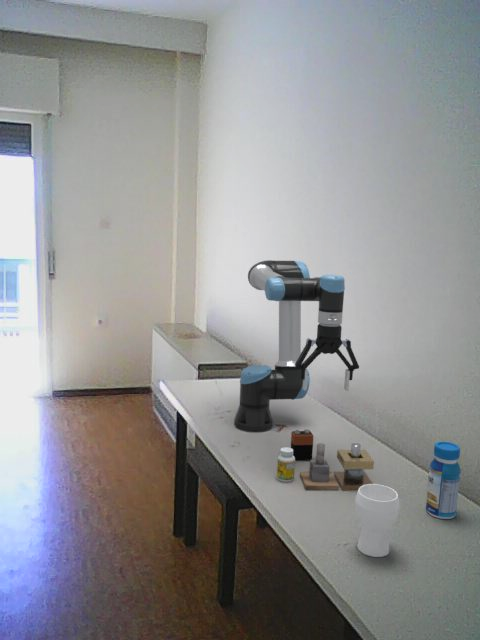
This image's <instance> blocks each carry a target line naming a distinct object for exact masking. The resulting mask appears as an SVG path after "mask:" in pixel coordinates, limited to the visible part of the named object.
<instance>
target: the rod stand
mask: <svg viewBox="0 0 480 640" xmlns="http://www.w3.org/2000/svg"><path fill="white" fill-rule="evenodd" d="M325 447H326V444H324V443H323V442H318V443H317V444H316V455H315V457H316V458H315V459H312V460H309V471H299V479H300V480H301V482H302V485H303V488H304V490H305V491H339V488H340V487H339V485H338V483H337V481H336V479H335V477H334V473H332V471H330V464H329V463H328V461H327V460H326V459H325V451H326V450H325Z"/></svg>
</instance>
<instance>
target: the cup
mask: <svg viewBox="0 0 480 640" xmlns="http://www.w3.org/2000/svg"><path fill="white" fill-rule="evenodd" d="M354 499H355V500H354V509H355V514H356V518H357V521H358V522H359V526H360V529H359V530H360V535H359V538H358V542H357V549H358V550H359V551H360V552H361V553H362V554H364V555H366V556H369V557H373V558H382V557H385V556H388V555H389V553H390V541H389V537H390V533H391V529H392V528H393V526H394V525H395V523H396V522H397V519H398V516H399V514H400V500H399V494H398V492H397V491H396V490H395V489H393V488H391V487H389V486H386V485H382V484H379V483H373V484H366V485H363V486H361V487H360V488H359V489H358V490H357V493H356V496H355V498H354Z"/></svg>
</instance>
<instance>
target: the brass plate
mask: <svg viewBox="0 0 480 640" xmlns="http://www.w3.org/2000/svg"><path fill="white" fill-rule="evenodd" d="M336 453H337V454H336V458H337V460H338V461H339V463H340V465H341V466H342V468H343V470H344V469H364V470H374V469H375V468H374V466H375V461H374V459H373V458H372V457H371V456H370V454H369V453H368V451H367V450H366V449H360V458H351V449H337V452H336Z"/></svg>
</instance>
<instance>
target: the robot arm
mask: <svg viewBox="0 0 480 640" xmlns="http://www.w3.org/2000/svg"><path fill="white" fill-rule="evenodd" d="M247 280H248V281H247V282H248V283H249V284H250V286H251V287H252V288H254V289H256V290H258V291H264V295H265V298H266V299H267V301H271V302H272V301H273V302H278V361H277V362H276V363H275V364H274V369H272V368H271V366H269V365H267V364H266V365H265V364H255V365H251V366H247V367H245V368H243V369H242V371H241V372H240V380H239V385H240V386H239V405H238V408H237V410H236V411H237V412H236V414H235V417H234V422H233V424H234V427H235V428H236V429H239V430H242V431H244V432H245V431H246V432H251V433H252V432H253V433H257V432H258V433H259V432H266V431H269V430H271V429H272V428H273V427H274V426H273V425H274V420H273V416H272V411H271V409H270V401H271V400H293V401H294V400H301V399H304V398H305V397H306V396H307V393H308V391H309V387H310V382H311V381H310V380H311V378H310V372H309V370H308V369H307V368H308V367H309V366H310V365H311V364H312V363H313V362H314V361H315V359H317V357H318V356H320V355H321V354H324V355H327V354H330V355H333V354H335V353H336V354H337V356H338V357H339V358H340V360H341V361H342V362H343V363H344V365H345V366H346V367H347V368H345V372H344V385H343V389H344V390H345V391H346V392H349V389H350V381H352V380H353V374H354V371H355V370H358V369H360V365H359V364H358V361H357V358H356V356H355V353H354V351H353V349H352V341H351V340H349V338H345V339H344V340H342V329H343V328H342V324H343V312H344V296H345V289H346V286H345V277H344V276H343V275H337V274H323V275H321V277H319V276H316V277H312V278H311V276H310V271H309V268H308V265H307V264H306V263H305V262H304V261H300V260H299V261H298V260H270V259H269V260H262V261H259V262H257V263H255V264H253V265H252V266H251V267H250V268H249V270H248V273H247ZM302 302H318V315H317V323H318V324H317V329H316V330H317V331H316V339H312V338H309V337H307V339H306V341H305V345H304V347H303V349H301V348H302V347H301V345H302V344H301V341H302V340H301V337H302V336H301V335H302V333H301V331H302V329H301V328H302V325H301V324H302V323H301V322H302V317H301V315H302V314H301V313H302V312H301V311H302V310H301V309H302V307H301V306H302V305H301V303H302ZM314 345H316V348H314V350H313V352H312V353H310V355H309V356H308V354H309V352H310V351H311V348H312V347H313V346H314ZM342 345H343V347H344V348H345V349H346V351H347V354H348V356H349V359H350V361H351V363H352V364H351V363H350V362H349V360H348V359H347V358H346V356H345V355H344V354H343V353H342V351H341V350H340V347H342ZM307 356H308V357H307ZM306 357H307V358H306Z"/></svg>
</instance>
